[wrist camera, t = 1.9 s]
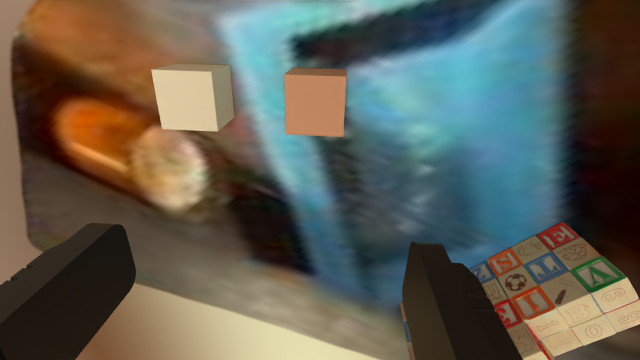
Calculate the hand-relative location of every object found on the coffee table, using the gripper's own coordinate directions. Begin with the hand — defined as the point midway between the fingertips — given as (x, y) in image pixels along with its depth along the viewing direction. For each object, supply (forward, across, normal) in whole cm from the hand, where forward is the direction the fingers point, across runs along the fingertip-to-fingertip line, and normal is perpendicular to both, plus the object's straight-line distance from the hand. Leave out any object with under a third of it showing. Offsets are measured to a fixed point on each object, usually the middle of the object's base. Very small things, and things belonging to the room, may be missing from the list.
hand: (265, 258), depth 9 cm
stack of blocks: (+25, -21, +22) cm, 39 cm away
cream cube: (+25, +11, 0) cm, 27 cm away
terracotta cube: (+25, 0, 0) cm, 25 cm away
